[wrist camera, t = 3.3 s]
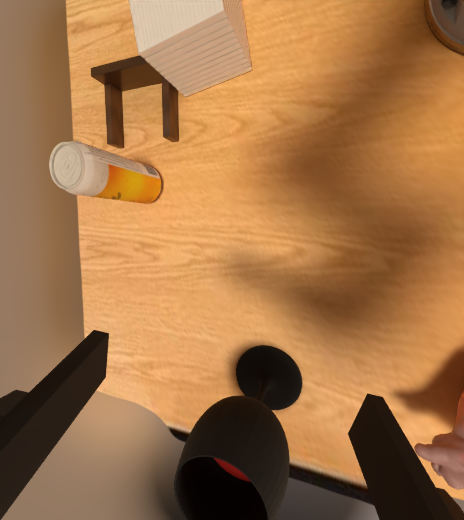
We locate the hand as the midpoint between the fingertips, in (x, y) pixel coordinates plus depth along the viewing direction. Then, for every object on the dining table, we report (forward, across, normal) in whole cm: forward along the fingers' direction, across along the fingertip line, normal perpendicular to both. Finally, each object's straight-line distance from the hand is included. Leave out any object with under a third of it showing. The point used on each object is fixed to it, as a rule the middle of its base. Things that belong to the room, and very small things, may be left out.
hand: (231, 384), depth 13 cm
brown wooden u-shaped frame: (+36, -20, +15) cm, 44 cm away
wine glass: (+23, +8, -19) cm, 31 cm away
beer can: (+34, -18, +5) cm, 39 cm away
